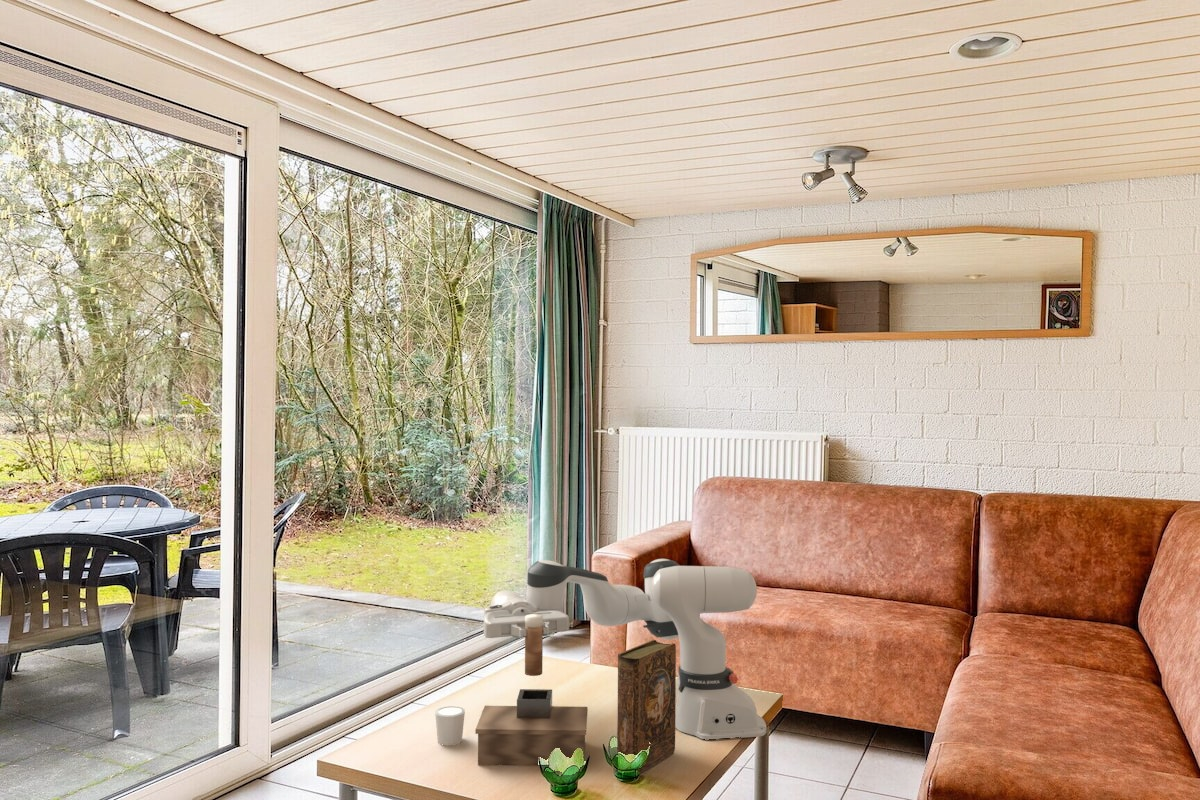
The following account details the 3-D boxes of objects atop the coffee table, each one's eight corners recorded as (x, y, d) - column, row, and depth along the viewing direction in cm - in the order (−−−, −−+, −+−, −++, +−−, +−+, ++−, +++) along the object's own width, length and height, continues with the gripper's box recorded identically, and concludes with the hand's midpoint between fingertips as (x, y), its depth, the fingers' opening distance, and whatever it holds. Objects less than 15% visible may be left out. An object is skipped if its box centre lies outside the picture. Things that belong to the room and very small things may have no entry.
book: (635, 779, 182) (636, 660, 182) (613, 772, 185) (614, 655, 185) (675, 753, 195) (676, 642, 195) (654, 747, 199) (655, 638, 199)
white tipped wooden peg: (542, 670, 200) (543, 614, 200) (541, 676, 196) (542, 618, 196) (525, 670, 200) (526, 614, 200) (524, 675, 196) (524, 618, 196)
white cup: (431, 737, 203) (432, 707, 203) (460, 733, 206) (460, 704, 206) (438, 748, 197) (438, 717, 197) (467, 744, 200) (468, 713, 200)
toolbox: (587, 740, 202) (587, 689, 202) (585, 767, 188) (586, 711, 188) (484, 739, 202) (484, 688, 202) (475, 766, 188) (475, 710, 188)
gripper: (559, 627, 214) (578, 642, 201) (478, 634, 207) (491, 650, 194) (559, 601, 214) (578, 615, 201) (478, 608, 207) (491, 622, 194)
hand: (535, 632), depth 197 cm, fingers closed on white tipped wooden peg, 4 cm apart
